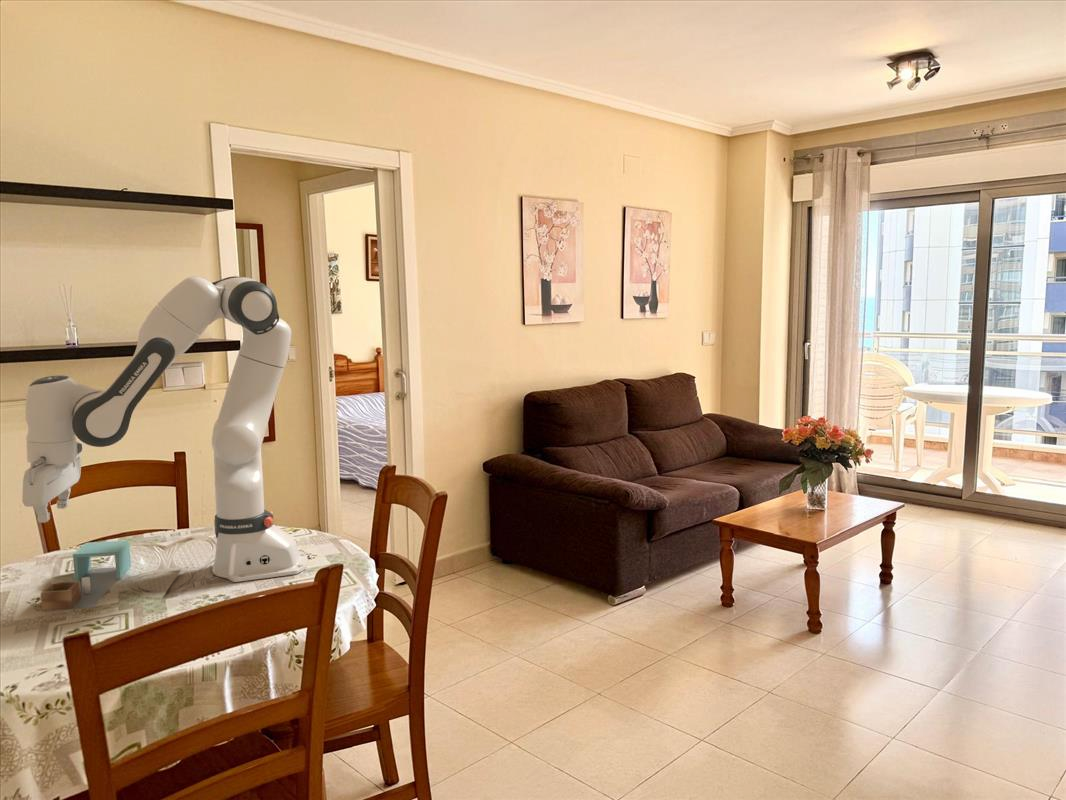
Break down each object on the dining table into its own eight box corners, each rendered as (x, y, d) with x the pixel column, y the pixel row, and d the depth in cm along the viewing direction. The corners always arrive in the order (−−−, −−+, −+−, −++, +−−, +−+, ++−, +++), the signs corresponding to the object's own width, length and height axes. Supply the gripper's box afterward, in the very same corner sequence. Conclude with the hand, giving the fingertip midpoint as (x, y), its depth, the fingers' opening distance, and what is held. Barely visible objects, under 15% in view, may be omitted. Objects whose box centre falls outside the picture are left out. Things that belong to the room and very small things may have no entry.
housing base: (128, 570, 184) (127, 552, 183) (93, 612, 160) (91, 592, 160) (83, 573, 182) (82, 555, 181) (41, 615, 158) (39, 595, 158)
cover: (131, 565, 183) (129, 540, 182) (120, 578, 175) (118, 551, 174) (87, 568, 181) (85, 542, 180) (75, 581, 173) (72, 554, 172)
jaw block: (81, 598, 165) (79, 580, 164) (71, 608, 160) (69, 591, 159) (53, 599, 164) (51, 582, 163) (42, 610, 159) (40, 592, 158)
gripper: (47, 464, 150) (48, 530, 152) (86, 441, 170) (87, 500, 172) (11, 463, 149) (14, 530, 151) (55, 441, 168) (57, 500, 171)
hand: (53, 514), depth 162 cm, fingers open, 8 cm apart
